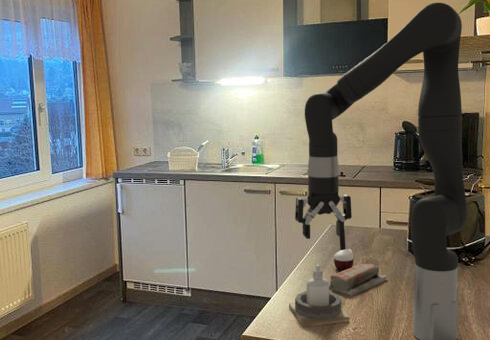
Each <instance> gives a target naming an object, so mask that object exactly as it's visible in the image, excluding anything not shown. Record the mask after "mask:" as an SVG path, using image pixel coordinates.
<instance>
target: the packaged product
mask: <svg viewBox="0 0 490 340" xmlns="http://www.w3.org/2000/svg"><path fill="white" fill-rule="evenodd" d="M379 271H380V268H379V266H377V265H375V264H373V263H361V264H358V265H355V266H352V268H350V269H347V270H344V271H340V272H337V273H334V274H332V275H330V282H329V290H333V291H336V292H338V293H340V294H345V295H347V296H351V297H353V296H355V295H356V294H359V293H360V292H364V291H366V290H368V289H370V288H373V287H375V286H377V285H379V284H381V283H383V282H384V281H387V278H388V276H387V275H382V274H379V273H380V272H379Z"/></svg>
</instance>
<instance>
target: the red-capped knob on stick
mask: <svg viewBox="0 0 490 340" xmlns="http://www.w3.org/2000/svg"><path fill="white" fill-rule="evenodd" d="M345 231H346V230H345V229H344V233H343V234H342V236H339V248H340V250H339V251H337V252H335V254H334V256H333V262H334V263H333V264H334V267H335V268H336V269H337V270H339V271H340V272H342V271H344V270H347V269H350V268H352V267H354V266H353V265H354V260H355V259H354V253H353V251H352V249H351V248H347V247H346V237H345V236H346V235H345V233H346V232H345Z"/></svg>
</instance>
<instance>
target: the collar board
mask: <svg viewBox="0 0 490 340" xmlns="http://www.w3.org/2000/svg"><path fill="white" fill-rule="evenodd" d="M288 308H289V310H290V311H291V312H292V313H293V315H294V317H295V318H296V320H297V321H299V323H300V325H301V326H302V327H303V328H305V327H312V326H321V325H322V326H323V325H331V324H337V323H348V322H350V316H349V315H348V314H347V313H346V312H345V311H344V309H342V298H341V297H340V296H339V295H338V294H336V293H334V292H331V291H329V305H326V306H314V305H308V304H307V290H306V291H302V292H300V293H298V294H297V295H296V296H295V299H294V302H289V303H288Z"/></svg>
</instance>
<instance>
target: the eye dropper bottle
mask: <svg viewBox="0 0 490 340" xmlns="http://www.w3.org/2000/svg"><path fill="white" fill-rule="evenodd" d="M323 276H324V273H323V269H322V268H321V267H320V264H316V267H315V269H312V278H310V279H308V280H307V281H306V291H307V304H308V305H314V306H326V305H329V292H330V289H329V283H330V282H329V281H328V279H326V278H324V277H323Z"/></svg>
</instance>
